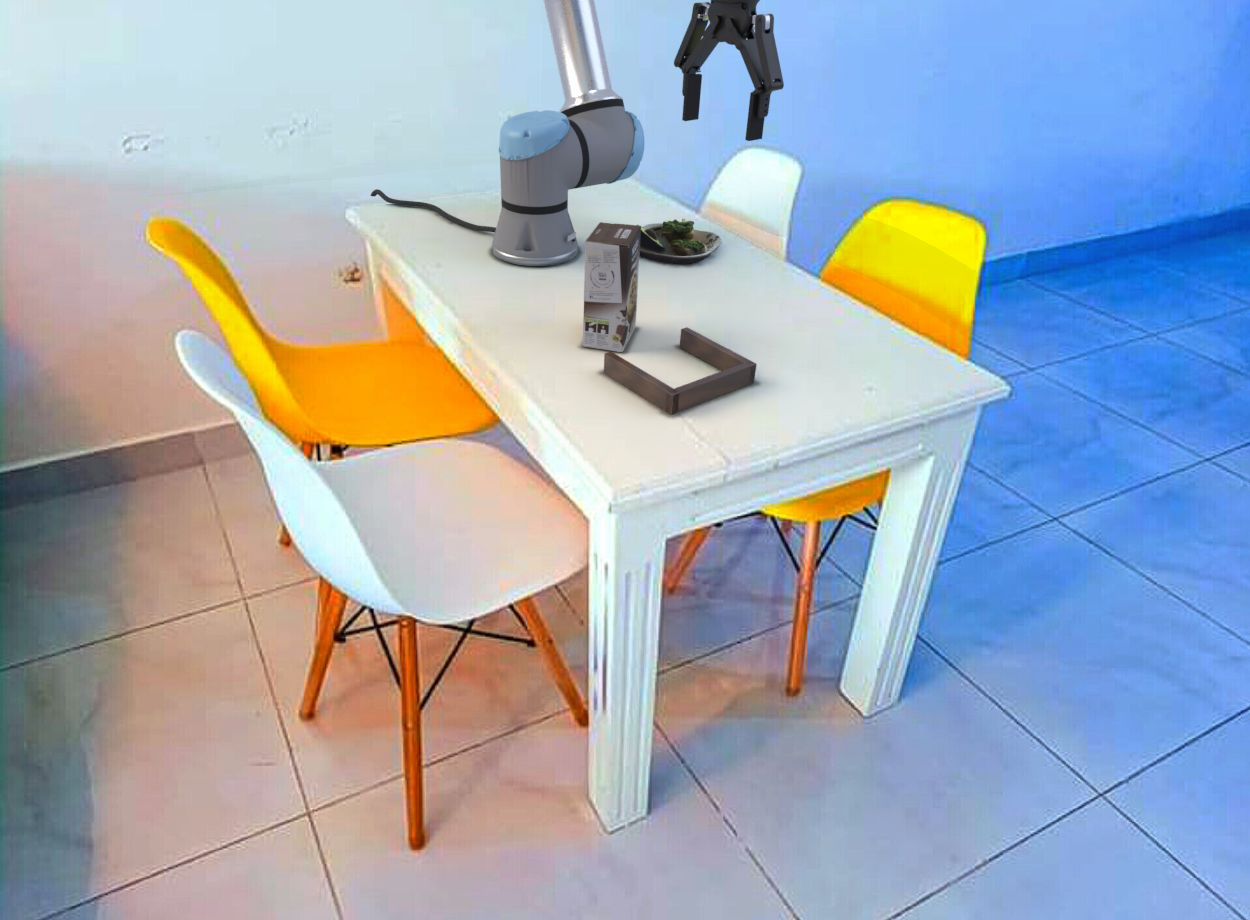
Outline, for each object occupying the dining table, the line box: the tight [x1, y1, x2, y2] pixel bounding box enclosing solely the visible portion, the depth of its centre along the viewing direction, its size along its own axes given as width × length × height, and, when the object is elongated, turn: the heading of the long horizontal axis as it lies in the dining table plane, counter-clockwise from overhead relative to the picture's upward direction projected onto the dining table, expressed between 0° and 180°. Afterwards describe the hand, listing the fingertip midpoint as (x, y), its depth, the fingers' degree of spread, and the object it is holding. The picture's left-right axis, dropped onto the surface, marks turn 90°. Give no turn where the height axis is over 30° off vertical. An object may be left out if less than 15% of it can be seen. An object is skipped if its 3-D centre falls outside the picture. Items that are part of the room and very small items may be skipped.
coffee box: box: [582, 221, 642, 353], centre depth 132 cm, size 9×6×16 cm
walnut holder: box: [603, 326, 757, 416], centre depth 126 cm, size 14×15×3 cm
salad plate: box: [635, 218, 723, 266], centre depth 170 cm, size 19×18×5 cm
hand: (720, 129), depth 137 cm, fingers open, 13 cm apart
